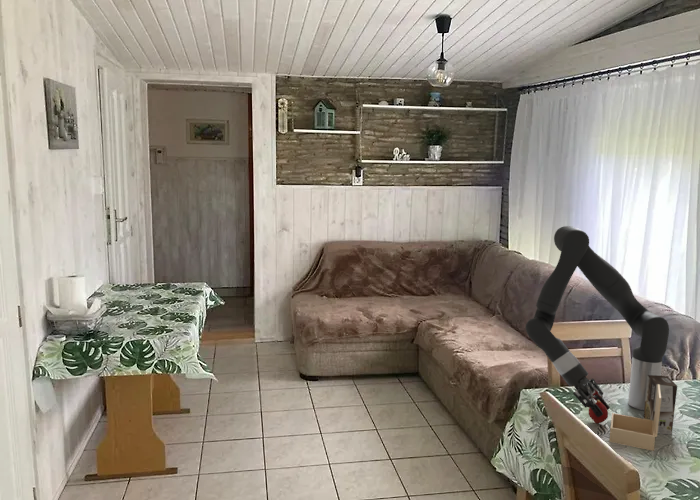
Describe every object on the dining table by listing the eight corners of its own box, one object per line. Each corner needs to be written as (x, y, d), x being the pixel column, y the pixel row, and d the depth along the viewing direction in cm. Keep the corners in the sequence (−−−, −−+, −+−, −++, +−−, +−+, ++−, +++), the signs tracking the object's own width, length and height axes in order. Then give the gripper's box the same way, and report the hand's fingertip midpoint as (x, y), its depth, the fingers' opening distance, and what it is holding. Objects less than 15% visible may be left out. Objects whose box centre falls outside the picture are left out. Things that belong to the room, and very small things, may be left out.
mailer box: (610, 426, 187) (615, 377, 184) (654, 434, 181) (659, 384, 179) (609, 441, 176) (614, 390, 173) (655, 451, 170) (661, 398, 168)
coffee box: (672, 435, 181) (678, 386, 179) (650, 432, 182) (655, 384, 180) (663, 422, 190) (668, 375, 187) (642, 420, 191) (646, 373, 189)
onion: (606, 421, 190) (608, 398, 189) (607, 428, 185) (610, 405, 183) (587, 418, 192) (589, 395, 191) (588, 425, 186) (590, 402, 185)
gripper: (570, 368, 185) (606, 414, 179) (586, 357, 196) (620, 400, 190) (553, 379, 189) (587, 425, 183) (569, 368, 200) (602, 411, 194)
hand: (604, 412), depth 186 cm, fingers closed on onion, 5 cm apart
